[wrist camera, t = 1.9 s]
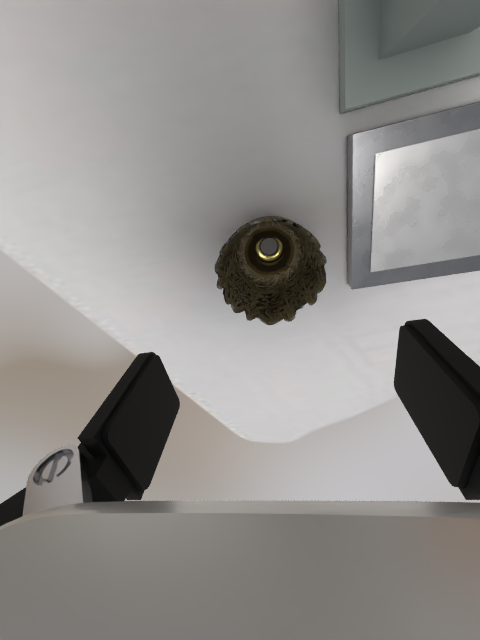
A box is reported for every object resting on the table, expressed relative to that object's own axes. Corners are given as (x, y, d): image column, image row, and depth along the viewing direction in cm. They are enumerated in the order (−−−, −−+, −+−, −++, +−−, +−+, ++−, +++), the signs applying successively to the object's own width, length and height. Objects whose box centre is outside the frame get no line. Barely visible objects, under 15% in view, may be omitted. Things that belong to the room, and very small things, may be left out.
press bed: (347, 136, 19) (353, 134, 18) (537, 87, 17) (563, 80, 15) (347, 283, 25) (352, 290, 23) (488, 261, 23) (503, 267, 21)
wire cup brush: (274, 182, 21) (278, 190, 14) (325, 248, 23) (350, 281, 17) (213, 244, 24) (192, 274, 17) (264, 296, 26) (263, 341, 20)
